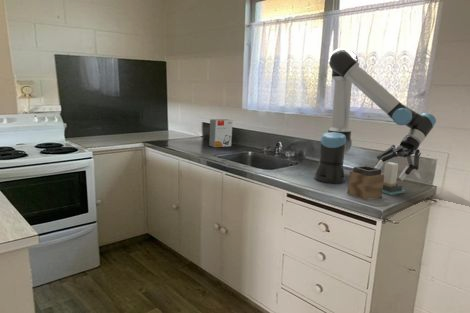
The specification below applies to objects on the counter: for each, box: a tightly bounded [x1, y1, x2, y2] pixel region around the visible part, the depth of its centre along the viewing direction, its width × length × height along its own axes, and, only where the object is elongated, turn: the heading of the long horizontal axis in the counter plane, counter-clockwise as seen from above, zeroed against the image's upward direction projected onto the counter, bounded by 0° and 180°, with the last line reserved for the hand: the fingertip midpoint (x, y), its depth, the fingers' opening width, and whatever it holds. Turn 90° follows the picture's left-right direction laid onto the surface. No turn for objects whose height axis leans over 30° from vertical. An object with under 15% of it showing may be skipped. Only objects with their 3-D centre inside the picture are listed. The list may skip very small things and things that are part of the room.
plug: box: [383, 161, 399, 187], centre depth 156 cm, size 4×4×12 cm
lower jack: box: [382, 183, 406, 196], centre depth 157 cm, size 10×10×3 cm
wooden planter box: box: [347, 165, 384, 201], centre depth 149 cm, size 10×10×12 cm
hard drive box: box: [208, 118, 234, 148], centre depth 255 cm, size 16×8×20 cm, turn 125°
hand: (387, 175), depth 155 cm, fingers open, 13 cm apart
